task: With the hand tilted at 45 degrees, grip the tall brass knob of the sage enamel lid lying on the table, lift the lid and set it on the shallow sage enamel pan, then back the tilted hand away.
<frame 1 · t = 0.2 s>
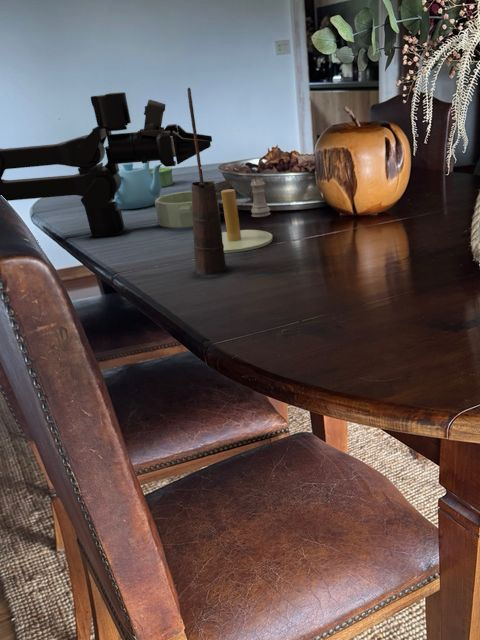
hand: (211, 141, 135), 17 cm above the table, tool horizontal, fingers open, 9 cm apart
pan: (190, 222, 146), on the table
rook chess piece: (261, 217, 145), on the table
ramekin: (159, 186, 192), on the table
butter churn: (213, 276, 109), on the table
lid: (235, 242, 124), point 1 cm above the table
teapot: (138, 205, 169), on the table
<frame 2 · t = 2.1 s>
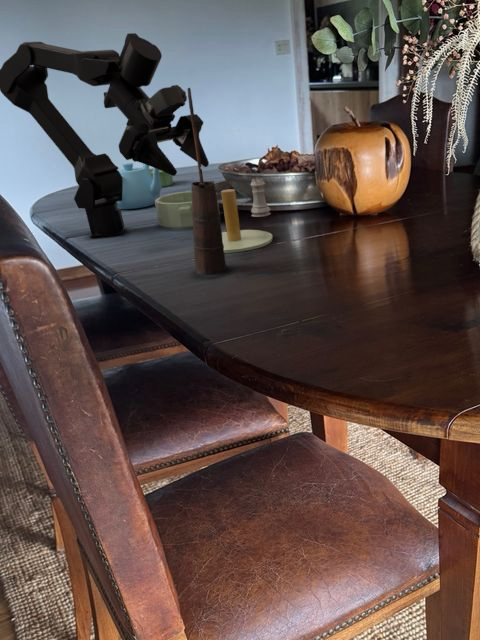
hand: (192, 169, 122), 14 cm above the table, tool tilted 45°, fingers open, 9 cm apart
nothing on the table moved.
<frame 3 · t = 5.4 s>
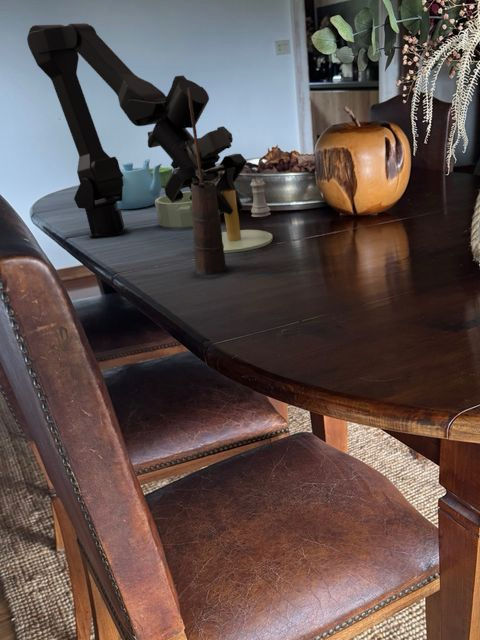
hand: (236, 211, 121), 7 cm above the table, tool tilted 45°, fingers closed on lid, 2 cm apart
lid: (235, 242, 124), point 1 cm above the table, touching gripper
everything else where it was.
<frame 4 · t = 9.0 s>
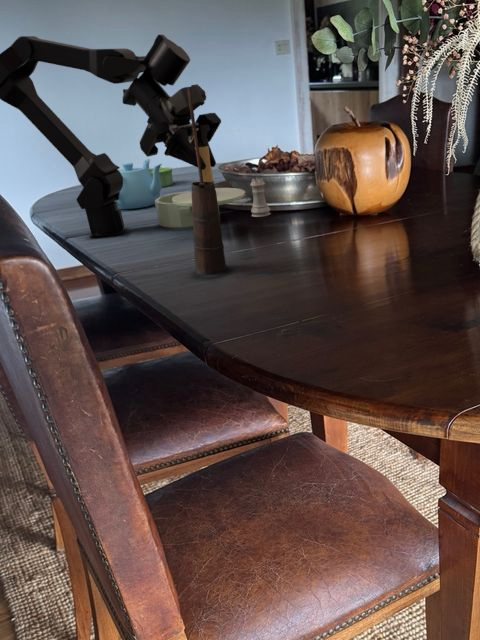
hand: (209, 166, 126), 13 cm above the table, tool tilted 45°, fingers closed on lid, 2 cm apart
lid: (209, 198, 129), point 7 cm above the table, touching gripper
everything else where it was.
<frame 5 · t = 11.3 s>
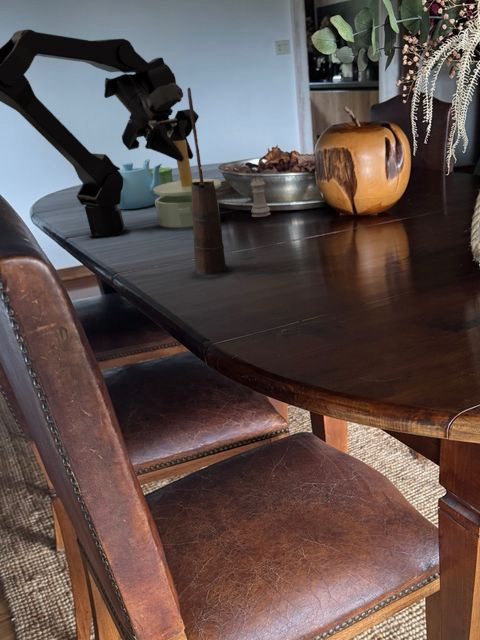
hand: (187, 158, 136), 14 cm above the table, tool tilted 45°, fingers closed on lid, 2 cm apart
lid: (187, 188, 140), point 8 cm above the table, touching gripper
everything else where it was.
when the fingers open (11 cm above the table, at t = 12.6 s): lid stays where it is, resting on pan.
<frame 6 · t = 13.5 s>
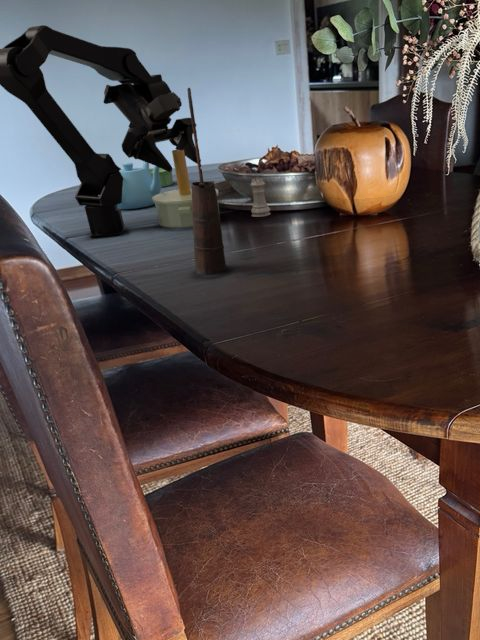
hand: (185, 166, 139), 12 cm above the table, tool tilted 45°, fingers open, 9 cm apart
lid: (185, 197, 143), point 5 cm above the table, touching pan
everything else where it was.
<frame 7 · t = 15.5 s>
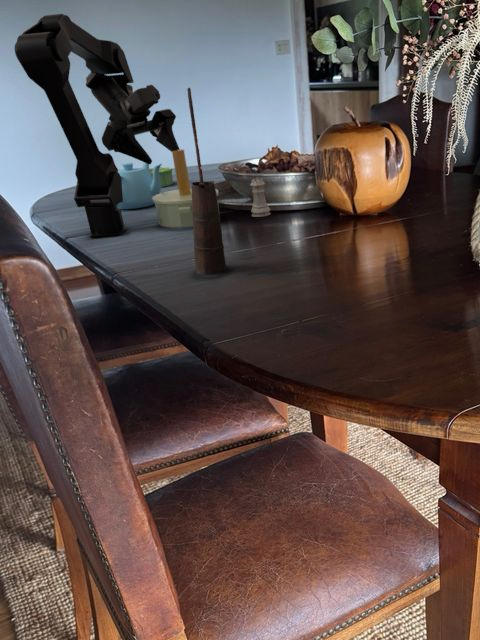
hand: (165, 158, 142), 13 cm above the table, tool tilted 45°, fingers open, 9 cm apart
nothing on the table moved.
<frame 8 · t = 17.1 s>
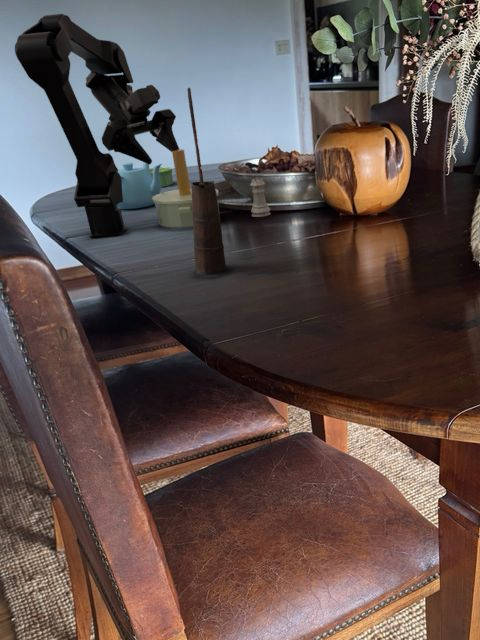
hand: (165, 158, 142), 13 cm above the table, tool tilted 45°, fingers open, 9 cm apart
nothing on the table moved.
at the end: lid 0.0 cm off-centre in the pan, point 5.5 cm above the pan's base; lid tilted 0° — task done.
